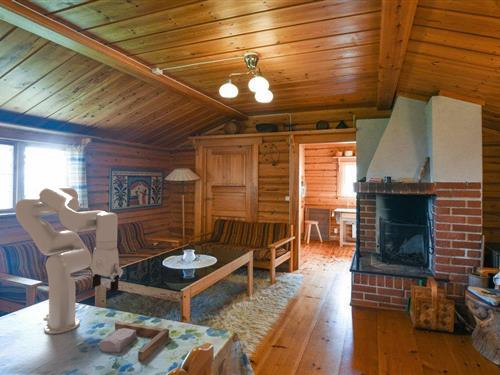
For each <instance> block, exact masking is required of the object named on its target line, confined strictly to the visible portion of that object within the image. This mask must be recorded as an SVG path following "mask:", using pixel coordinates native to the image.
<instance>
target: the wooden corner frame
mask: <svg viewBox="0 0 500 375" xmlns="http://www.w3.org/2000/svg"><path fill="white" fill-rule="evenodd" d="M123 328H126V329H131V330H135V331H136V335H140V336H145V337H152V339H150V340H149V341H148V342H147V343H146V344H145V345H144V346H143V347H141V348H140V349H139V350H137V360H138V361H141V362H144V361H145V360H146V359H147V358H148V357H149V356H150V355H151V354H152V353H154V351H155V350H156V349H157V348H158V347H160V346H161V345H162V344H163V343H164V342H165V341H166V340H167V339H168V338H169V337H170V329H168V328H164V327H158V326H151V325H144V324H141V323H140V324H139V323H132V322H128V321H127V322H126V321H119V320H118V321H116V322H115V323H114V330H118V329H123Z"/></svg>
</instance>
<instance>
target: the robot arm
mask: <svg viewBox="0 0 500 375" xmlns="http://www.w3.org/2000/svg"><path fill="white" fill-rule="evenodd" d="M38 195H39V196H30V197H25V198H22V199H20V200H18V201H17V202H16V203H15V208H14V211H15V217H16V219H17V222H18V223H19V224H20V225H21V227H22V228H23V229H24V230H25V231H26V232H27V233H28V234H29V236H30V237H31V239H32V241H33V242H34V244H35V245H36V247H37V249H38V250H39V252H40V253H41V254H42V255H44V256H49V257H47V260H46V262H45V268H46V273H47V279H48V313H47V314H46V317H43V321H45V322H47V324H46V325H45V326H44V332H45V333H46V334H50V335H57V334H63V333H68V332H70V331H72V330H75V329H76V328H78V327H79V325H80V322H81V321H80V319H79V318H77V317H76V282H75V281H76V280H75V279H74V278H73V277H72V276H71V274H73V273H76V272H78V271H82V270H86V269H87V268H90V273H91V277H92V287H93V288H95V287H99V286H101V284H102V277H106V278H107V277H109V278H110V280H111V281H110V288H109V289H110V292H111V293H114V292H116V291H118V290H119V281H120V279H121V278H122V275H123V273H124V270H123V269H122V267H120V262H119V260H120V258H119V251H118V250H119V249H118V222H119V221H118V220H119V218H118V215H117V214H116V212H106V211H104V210H98V209H97V210H88V211H79V208H80V201H79V200H78V199H79V194H78V191H77V190H76V189H75V188H73V187H70V186H50V187H46V188H43V189H42V190H41V191H40V192H39V194H38ZM57 214H58V218H59V219H58V220H59V221H60V224H61V225H62V226H64V227H65V228H66V229H68V230H63V231H57V230H56V229H54V227H53V225H52V224H51V222H48V220H46V219H44V218H43V217H41V216H51V215H57ZM89 231H95V247H94V248H93V253H92V254H91V252H90V251H89V249H88V247H87V245H85V243H84V241H83V240H82V239H81V237H80V236H79V234H78V233H83V232H89Z"/></svg>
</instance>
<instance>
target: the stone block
mask: <svg viewBox="0 0 500 375" xmlns="http://www.w3.org/2000/svg"><path fill="white" fill-rule="evenodd" d="M136 337H137V334H136V331H135V330H131V329H126V328H123V329H118V330H115V329H114V330H113V331H112V332H110V333H109V334H107V336H106V337H105V338H103V339H102V340H100V341H99V342H98V348H99V350H100V351H102V352H110V353H121V352H122V351H123V350H124V349H125V348H126V347H127V346H128V345H129V344H131V343H132V342H133V341H134V340H135V339H136Z"/></svg>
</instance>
